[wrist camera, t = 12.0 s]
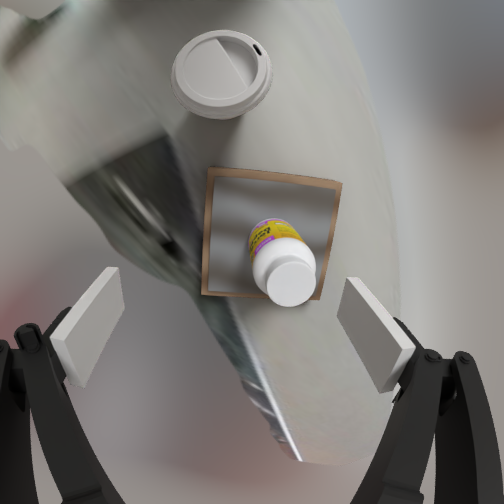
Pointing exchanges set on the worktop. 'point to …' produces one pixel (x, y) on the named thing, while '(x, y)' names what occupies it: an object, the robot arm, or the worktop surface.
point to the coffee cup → (221, 74)
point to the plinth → (253, 212)
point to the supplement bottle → (281, 262)
